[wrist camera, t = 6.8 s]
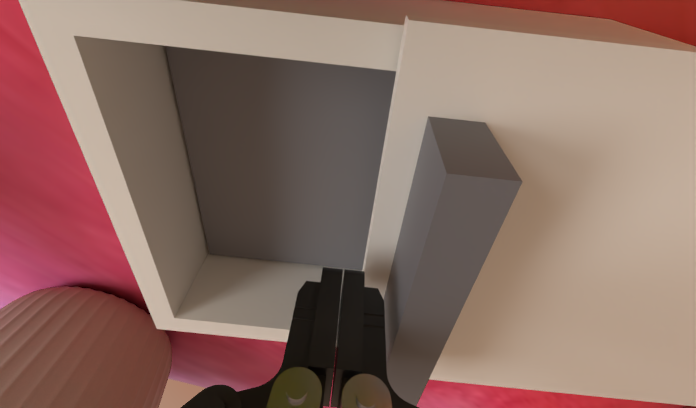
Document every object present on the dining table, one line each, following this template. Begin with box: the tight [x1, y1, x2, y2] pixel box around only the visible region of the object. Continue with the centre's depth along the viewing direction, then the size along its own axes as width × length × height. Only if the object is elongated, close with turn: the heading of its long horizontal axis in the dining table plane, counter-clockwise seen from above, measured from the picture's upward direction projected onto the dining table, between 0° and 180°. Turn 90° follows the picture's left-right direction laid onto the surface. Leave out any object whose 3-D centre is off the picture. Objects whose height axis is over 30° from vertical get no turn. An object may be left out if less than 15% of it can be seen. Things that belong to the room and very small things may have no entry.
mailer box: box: [19, 0, 696, 343], centre depth 17 cm, size 20×16×7 cm
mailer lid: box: [362, 15, 696, 406], centre depth 12 cm, size 21×17×4 cm
